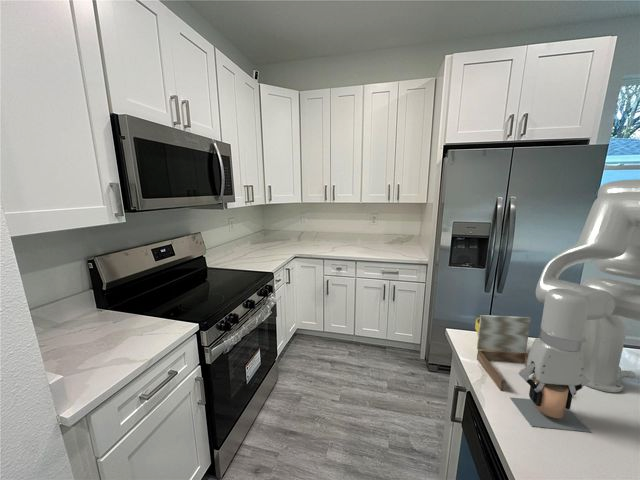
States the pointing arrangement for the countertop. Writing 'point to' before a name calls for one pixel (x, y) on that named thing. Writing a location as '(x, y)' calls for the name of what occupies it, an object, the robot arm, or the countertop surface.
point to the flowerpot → (553, 400)
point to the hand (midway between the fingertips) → (549, 402)
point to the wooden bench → (502, 342)
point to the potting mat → (548, 417)
